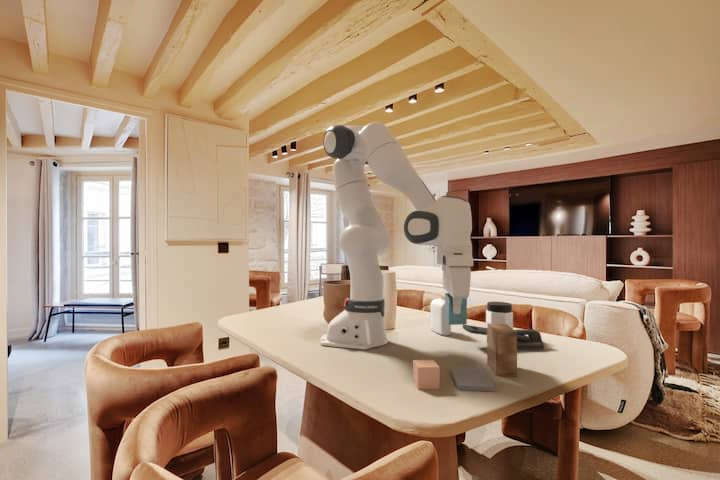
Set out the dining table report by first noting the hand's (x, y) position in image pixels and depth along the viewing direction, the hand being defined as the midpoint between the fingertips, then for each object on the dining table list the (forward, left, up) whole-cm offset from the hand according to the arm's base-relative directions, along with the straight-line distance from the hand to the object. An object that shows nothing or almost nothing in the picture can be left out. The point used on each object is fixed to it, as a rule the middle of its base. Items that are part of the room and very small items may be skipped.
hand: (454, 311), depth 93 cm
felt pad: (+3, -6, -16) cm, 17 cm away
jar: (+21, +36, -16) cm, 44 cm away
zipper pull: (+19, +24, -16) cm, 34 cm away
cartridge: (0, +1, -3) cm, 3 cm away
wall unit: (+12, +2, -16) cm, 20 cm away
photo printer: (+1, +40, -16) cm, 43 cm away
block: (-8, -10, -16) cm, 20 cm away
